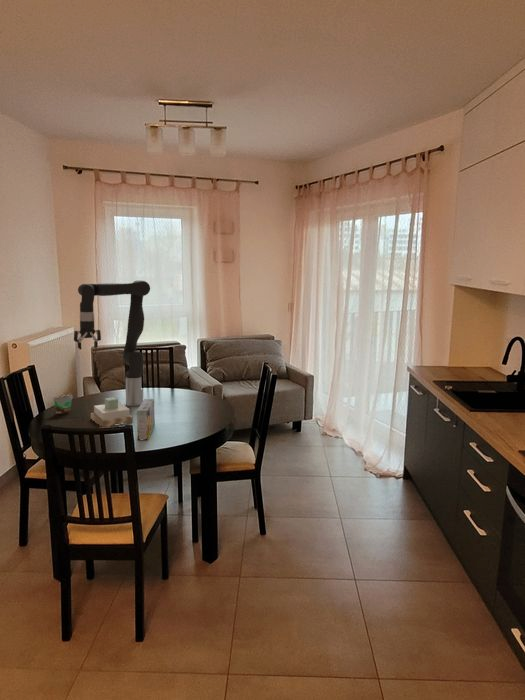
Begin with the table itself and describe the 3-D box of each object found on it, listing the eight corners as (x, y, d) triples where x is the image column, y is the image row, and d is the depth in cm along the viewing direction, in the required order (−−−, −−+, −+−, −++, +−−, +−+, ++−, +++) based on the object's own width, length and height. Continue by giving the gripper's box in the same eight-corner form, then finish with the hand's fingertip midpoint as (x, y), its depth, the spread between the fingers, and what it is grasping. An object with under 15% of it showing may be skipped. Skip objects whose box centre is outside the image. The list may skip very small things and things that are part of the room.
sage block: (113, 405, 244) (113, 397, 244) (118, 408, 241) (117, 399, 240) (105, 407, 241) (104, 398, 240) (109, 409, 237) (108, 400, 237)
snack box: (144, 426, 235) (144, 398, 233) (155, 426, 236) (155, 398, 234) (136, 440, 215) (136, 410, 212) (148, 440, 215) (148, 410, 213)
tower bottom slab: (119, 415, 254) (119, 408, 254) (132, 423, 241) (132, 416, 240) (90, 420, 244) (90, 413, 244) (103, 429, 231) (102, 421, 230)
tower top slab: (119, 409, 253) (119, 402, 252) (129, 416, 240) (129, 409, 239) (94, 412, 244) (94, 405, 244) (103, 420, 232) (102, 413, 231)
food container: (64, 416, 248) (63, 398, 246) (54, 415, 249) (53, 397, 247) (77, 410, 259) (77, 393, 258) (68, 409, 261) (67, 392, 259)
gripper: (97, 319, 259) (98, 346, 261) (71, 319, 250) (72, 348, 252) (102, 320, 253) (102, 348, 255) (76, 321, 244) (77, 350, 246)
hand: (87, 348), depth 254 cm, fingers open, 8 cm apart
